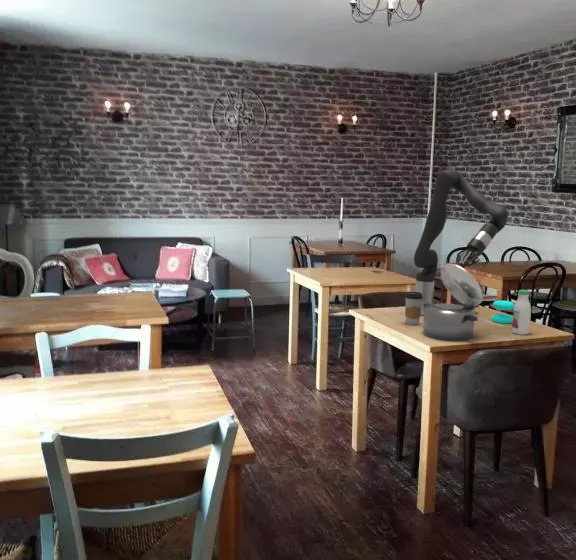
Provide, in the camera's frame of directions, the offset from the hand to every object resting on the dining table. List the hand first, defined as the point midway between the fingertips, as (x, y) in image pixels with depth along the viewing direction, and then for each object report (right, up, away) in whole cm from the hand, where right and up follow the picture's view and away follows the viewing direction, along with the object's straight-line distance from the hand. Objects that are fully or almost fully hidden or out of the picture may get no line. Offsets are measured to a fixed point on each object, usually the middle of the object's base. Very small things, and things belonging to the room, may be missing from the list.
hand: (457, 271), depth 289 cm
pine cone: (+18, -21, +53) cm, 60 cm away
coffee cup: (-15, -25, +23) cm, 37 cm away
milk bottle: (+32, -28, +10) cm, 44 cm away
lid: (+2, -7, +3) cm, 8 cm away
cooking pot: (-3, -28, +3) cm, 29 cm away
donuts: (+31, -25, +32) cm, 51 cm away
